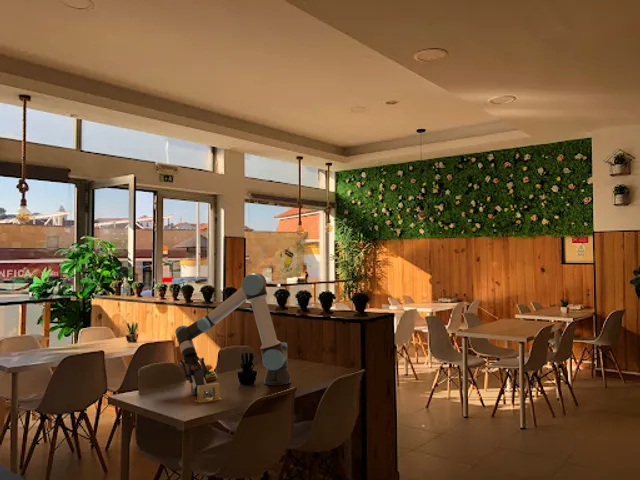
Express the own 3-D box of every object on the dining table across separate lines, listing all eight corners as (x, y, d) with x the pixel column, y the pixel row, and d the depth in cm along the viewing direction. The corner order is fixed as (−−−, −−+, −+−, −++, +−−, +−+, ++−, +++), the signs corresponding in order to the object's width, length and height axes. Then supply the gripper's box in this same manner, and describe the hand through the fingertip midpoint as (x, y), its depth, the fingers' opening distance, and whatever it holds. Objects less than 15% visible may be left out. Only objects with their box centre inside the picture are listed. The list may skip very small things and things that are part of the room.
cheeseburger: (217, 381, 316) (213, 364, 316) (199, 386, 314) (195, 369, 314) (217, 377, 326) (213, 361, 326) (200, 382, 324) (195, 366, 324)
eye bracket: (216, 397, 279) (216, 382, 279) (221, 399, 274) (221, 384, 274) (194, 400, 272) (194, 385, 272) (199, 403, 267) (199, 387, 267)
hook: (199, 391, 288) (200, 368, 288) (216, 399, 271) (216, 375, 271) (191, 392, 285) (191, 369, 285) (206, 400, 268) (207, 376, 268)
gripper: (201, 353, 303) (214, 388, 288) (170, 356, 292) (181, 393, 278) (205, 345, 298) (218, 380, 284) (174, 348, 288) (185, 385, 274)
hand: (200, 386), depth 281 cm, fingers closed on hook, 5 cm apart
